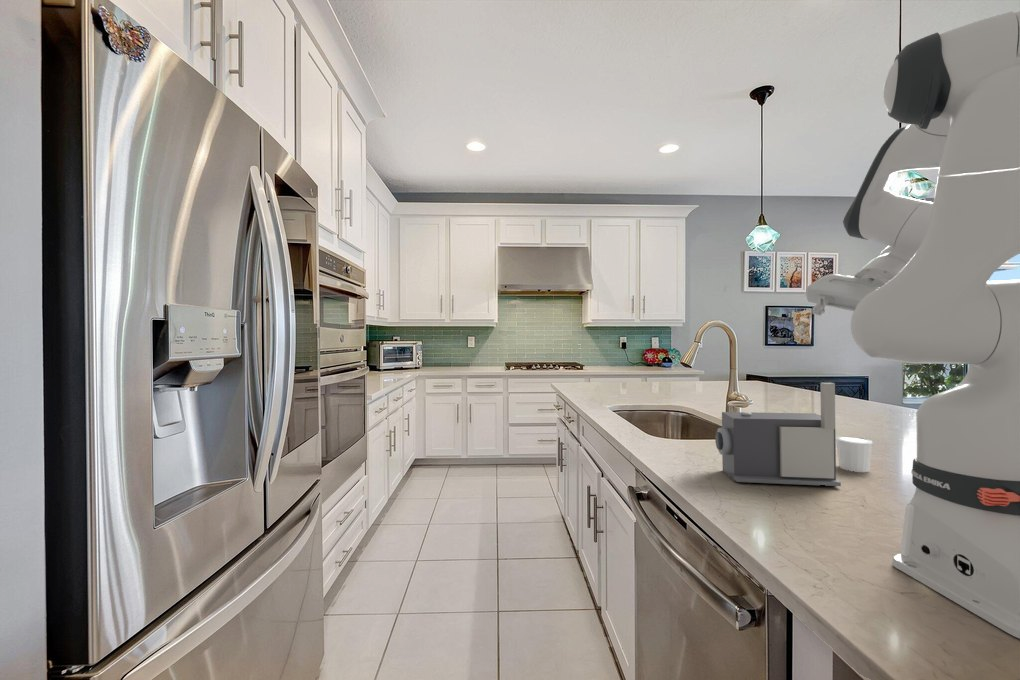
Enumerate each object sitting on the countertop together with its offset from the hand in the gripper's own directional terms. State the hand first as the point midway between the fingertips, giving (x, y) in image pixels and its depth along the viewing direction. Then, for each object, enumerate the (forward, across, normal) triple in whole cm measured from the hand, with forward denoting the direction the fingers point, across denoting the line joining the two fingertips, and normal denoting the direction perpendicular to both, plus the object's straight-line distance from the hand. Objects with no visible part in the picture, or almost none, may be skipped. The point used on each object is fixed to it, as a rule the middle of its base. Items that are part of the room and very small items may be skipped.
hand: (840, 317), depth 86 cm
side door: (+22, +5, +26) cm, 34 cm away
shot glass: (+5, +5, +41) cm, 41 cm away
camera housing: (+25, 0, +28) cm, 38 cm away
